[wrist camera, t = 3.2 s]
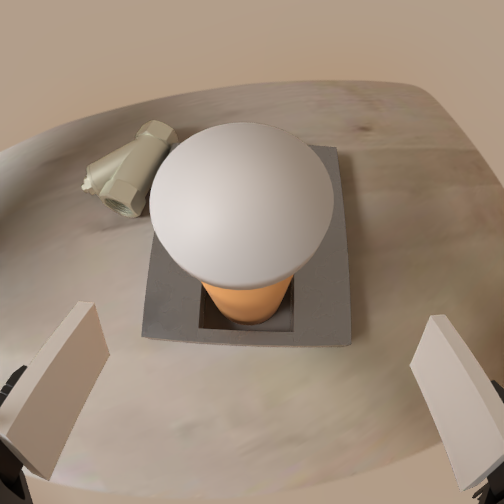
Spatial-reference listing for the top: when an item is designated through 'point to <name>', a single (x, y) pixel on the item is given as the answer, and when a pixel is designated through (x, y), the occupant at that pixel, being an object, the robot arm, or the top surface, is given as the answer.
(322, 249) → the plate
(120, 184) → the pipe fitting
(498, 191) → the top surface
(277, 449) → the top surface
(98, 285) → the top surface
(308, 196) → the orange pill bottle
